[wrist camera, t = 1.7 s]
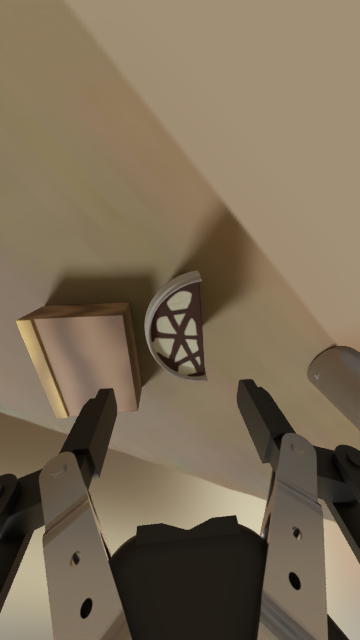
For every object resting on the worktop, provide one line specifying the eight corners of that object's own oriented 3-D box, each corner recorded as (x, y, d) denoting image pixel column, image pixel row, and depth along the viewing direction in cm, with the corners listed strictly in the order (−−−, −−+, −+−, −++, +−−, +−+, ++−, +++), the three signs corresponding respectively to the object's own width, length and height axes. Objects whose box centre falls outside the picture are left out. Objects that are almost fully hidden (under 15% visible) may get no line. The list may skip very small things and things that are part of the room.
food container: (143, 266, 25) (129, 282, 15) (189, 261, 25) (201, 273, 15) (157, 345, 29) (153, 392, 20) (195, 340, 30) (208, 385, 20)
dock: (130, 302, 26) (121, 316, 21) (141, 387, 33) (137, 412, 28) (44, 305, 26) (15, 320, 21) (73, 391, 32) (56, 418, 27)
